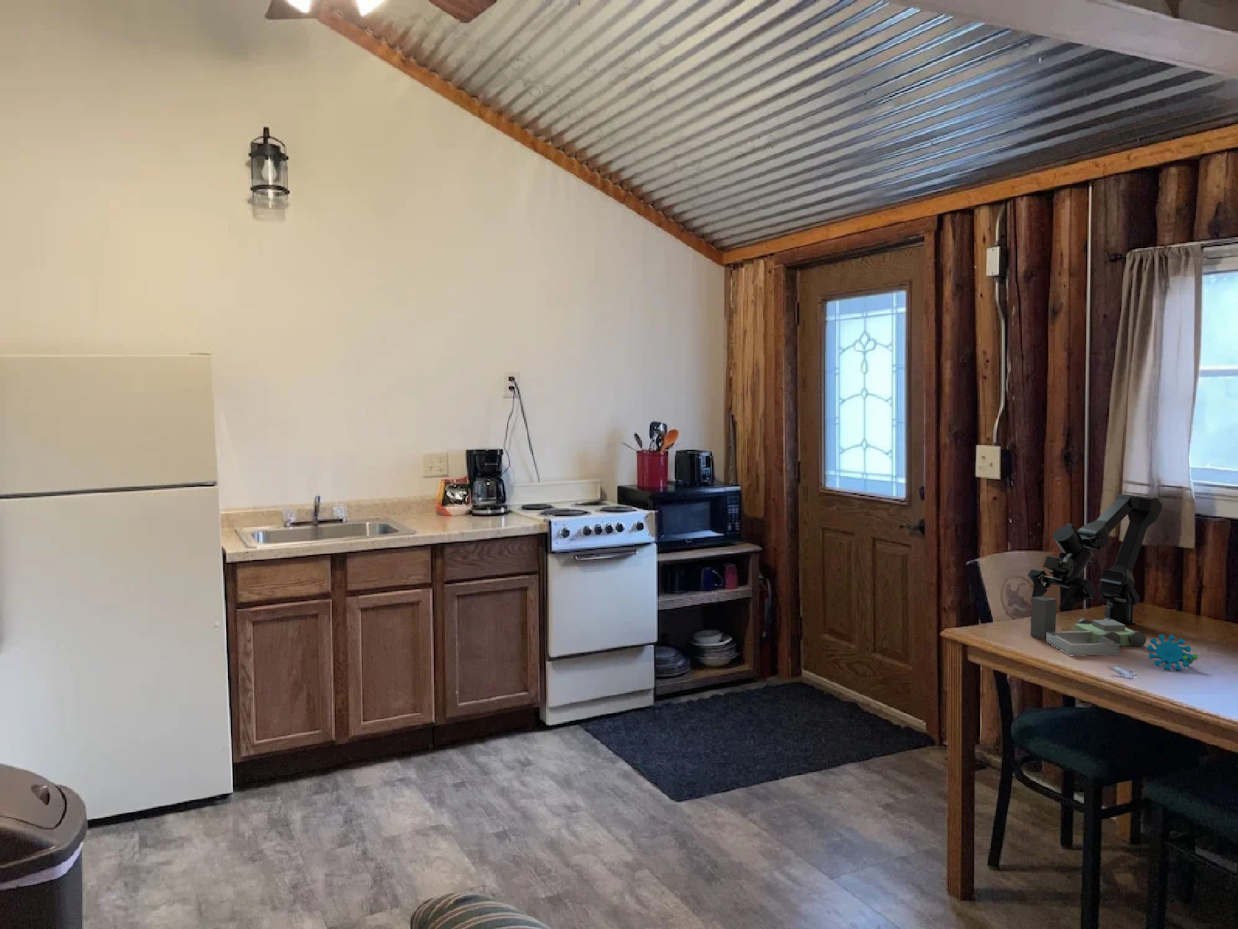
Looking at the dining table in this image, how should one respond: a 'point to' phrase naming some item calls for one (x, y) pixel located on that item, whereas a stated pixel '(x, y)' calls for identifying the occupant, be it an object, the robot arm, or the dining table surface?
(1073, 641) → the grey tray
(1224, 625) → the dining table surface
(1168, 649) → the teal spiky round piece
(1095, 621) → the toy car
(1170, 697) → the dining table surface
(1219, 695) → the dining table surface
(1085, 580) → the robot arm
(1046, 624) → the grey block
